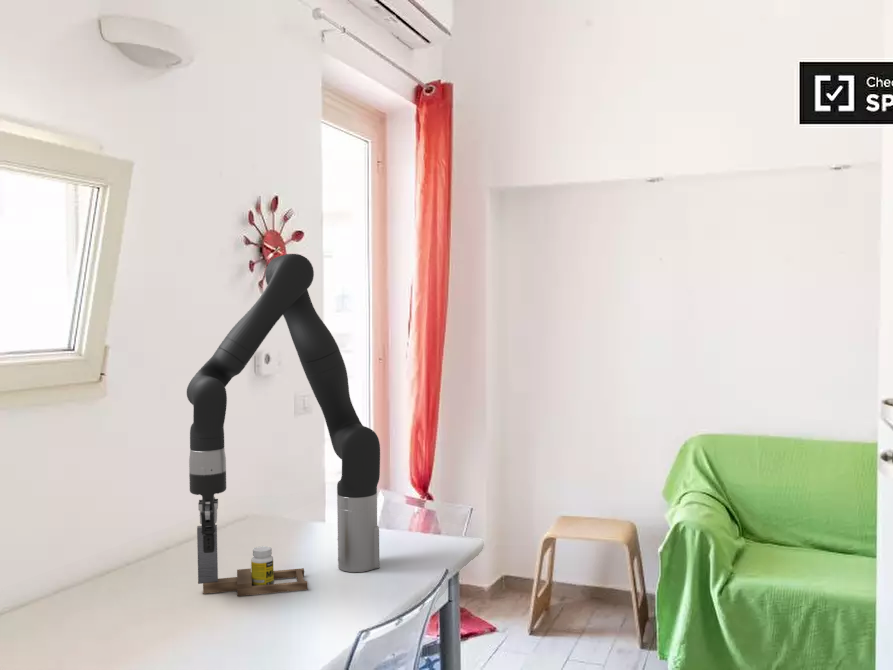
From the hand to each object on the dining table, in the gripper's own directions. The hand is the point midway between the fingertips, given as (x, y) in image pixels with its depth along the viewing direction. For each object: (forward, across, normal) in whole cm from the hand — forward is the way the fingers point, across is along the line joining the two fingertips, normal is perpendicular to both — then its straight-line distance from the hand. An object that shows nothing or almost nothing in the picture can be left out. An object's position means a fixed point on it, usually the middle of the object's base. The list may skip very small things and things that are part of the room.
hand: (209, 549), depth 173 cm
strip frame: (+9, 0, -9) cm, 13 cm away
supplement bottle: (+9, 0, -11) cm, 14 cm away
